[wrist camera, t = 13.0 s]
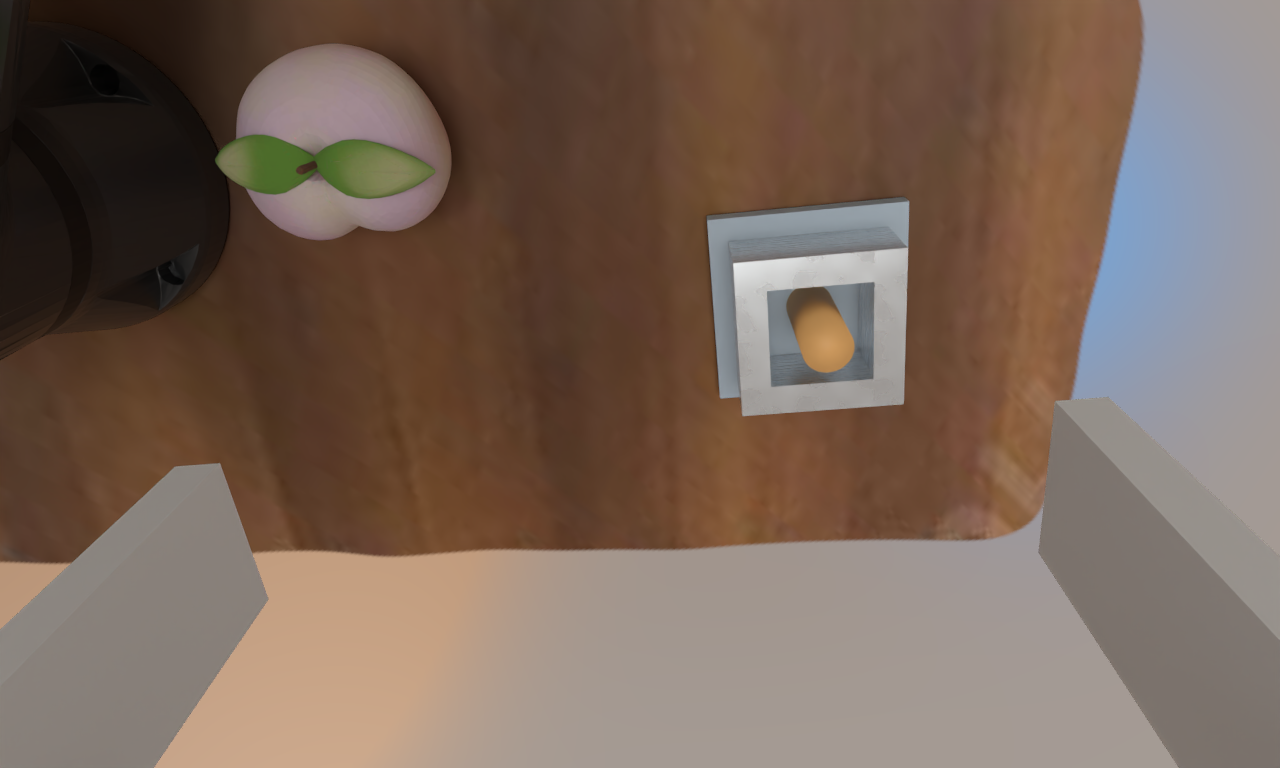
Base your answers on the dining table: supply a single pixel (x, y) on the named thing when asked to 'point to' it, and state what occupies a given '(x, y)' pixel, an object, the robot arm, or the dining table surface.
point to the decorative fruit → (338, 144)
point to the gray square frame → (818, 263)
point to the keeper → (798, 315)
